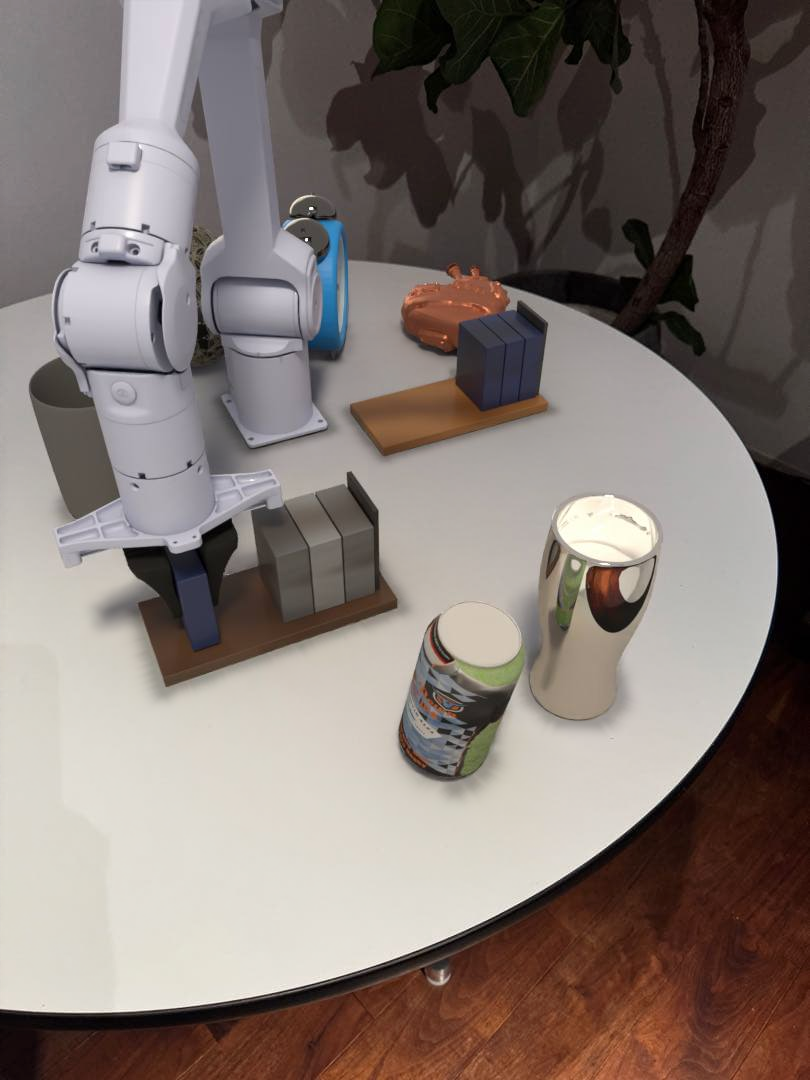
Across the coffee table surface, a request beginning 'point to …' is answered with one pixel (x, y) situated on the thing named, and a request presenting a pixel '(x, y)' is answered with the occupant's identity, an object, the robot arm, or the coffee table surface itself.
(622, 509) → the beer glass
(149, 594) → the coffee table surface
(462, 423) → the oak book board
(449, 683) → the beverage can
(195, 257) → the decorative egg
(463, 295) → the heart
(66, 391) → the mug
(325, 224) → the alarm clock
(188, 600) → the navy book
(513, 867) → the coffee table surface
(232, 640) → the walnut book board
